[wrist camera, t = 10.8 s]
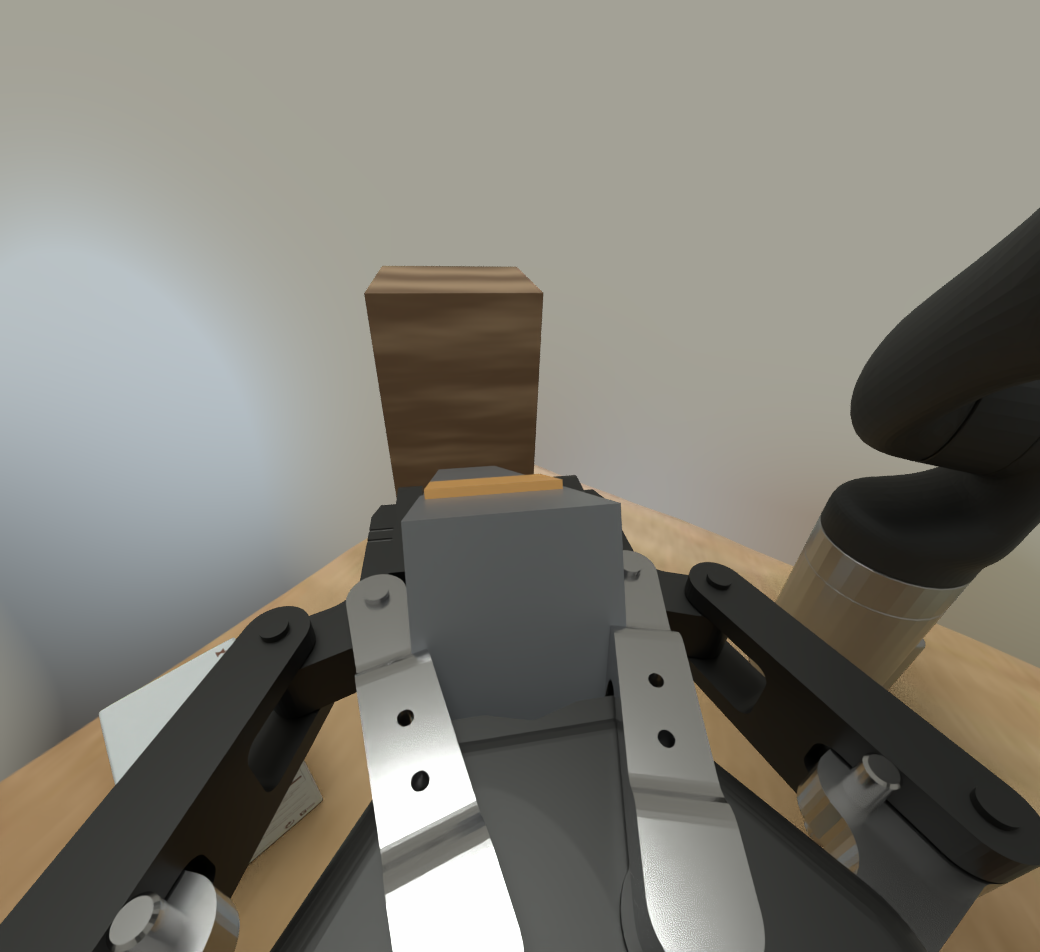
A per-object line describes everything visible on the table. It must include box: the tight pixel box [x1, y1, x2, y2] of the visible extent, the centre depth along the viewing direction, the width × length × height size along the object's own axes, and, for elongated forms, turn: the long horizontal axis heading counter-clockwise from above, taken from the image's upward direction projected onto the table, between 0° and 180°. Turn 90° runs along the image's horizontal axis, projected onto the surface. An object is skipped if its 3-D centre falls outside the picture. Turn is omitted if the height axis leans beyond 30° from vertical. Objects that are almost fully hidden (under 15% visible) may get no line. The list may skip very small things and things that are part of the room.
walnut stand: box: [364, 266, 543, 497], centre depth 43 cm, size 12×12×32 cm
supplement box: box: [99, 638, 323, 863], centre depth 28 cm, size 7×7×13 cm
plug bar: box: [401, 466, 626, 720], centre depth 20 cm, size 24×4×4 cm
